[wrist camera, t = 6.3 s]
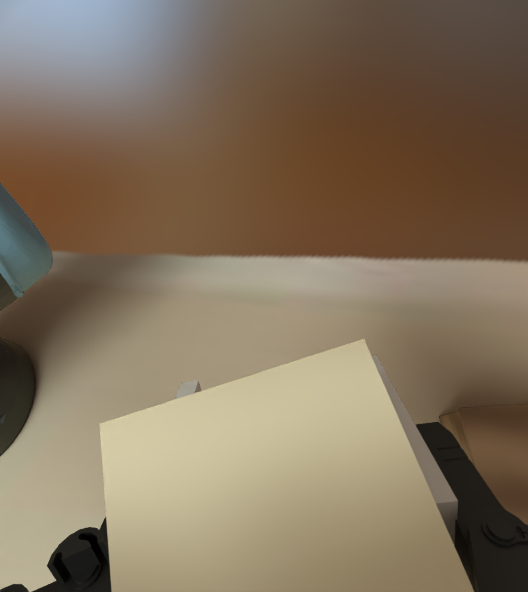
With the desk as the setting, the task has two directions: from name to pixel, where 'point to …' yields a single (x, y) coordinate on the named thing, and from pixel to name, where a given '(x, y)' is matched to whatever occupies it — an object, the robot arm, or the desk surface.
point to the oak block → (275, 488)
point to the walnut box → (496, 450)
